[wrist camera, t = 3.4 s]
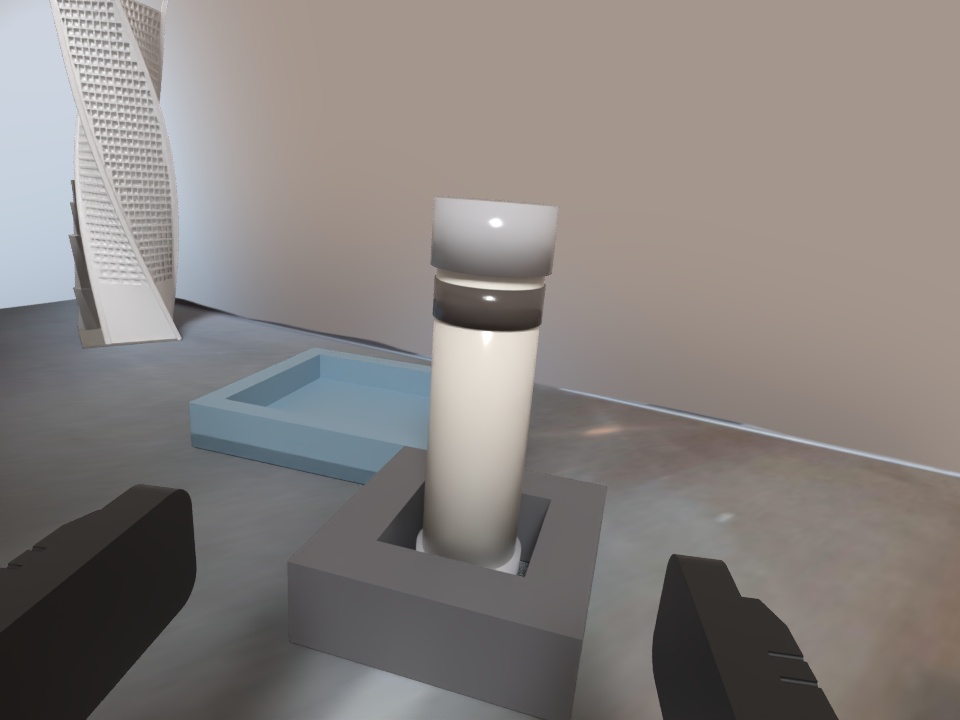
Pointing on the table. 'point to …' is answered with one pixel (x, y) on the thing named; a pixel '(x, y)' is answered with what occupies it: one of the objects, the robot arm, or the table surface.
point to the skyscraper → (120, 172)
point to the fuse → (483, 373)
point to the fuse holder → (453, 592)
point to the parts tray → (319, 414)
